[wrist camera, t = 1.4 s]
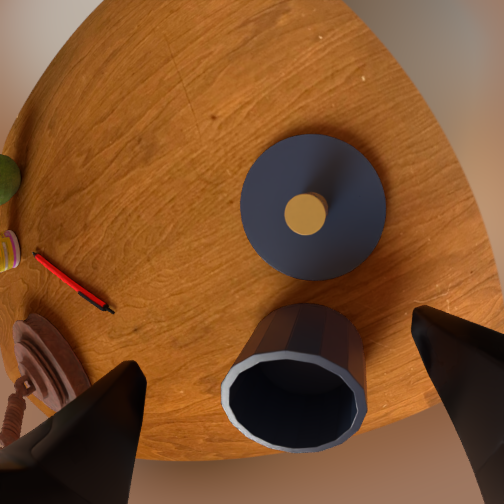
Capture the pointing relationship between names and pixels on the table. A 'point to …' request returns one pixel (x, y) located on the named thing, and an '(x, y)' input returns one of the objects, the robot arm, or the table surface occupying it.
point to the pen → (74, 285)
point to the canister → (298, 381)
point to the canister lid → (313, 207)
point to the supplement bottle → (9, 250)
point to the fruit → (8, 178)
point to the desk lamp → (41, 372)
